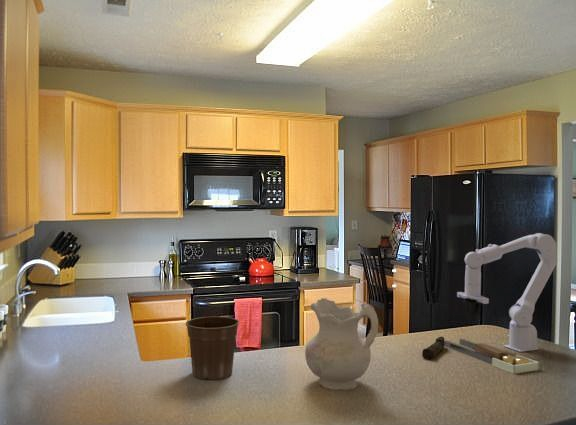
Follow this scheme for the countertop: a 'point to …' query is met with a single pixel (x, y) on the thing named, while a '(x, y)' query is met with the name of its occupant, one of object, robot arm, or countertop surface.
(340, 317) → the ceramic pitcher
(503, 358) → the chip
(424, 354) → the brown wooden log
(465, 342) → the slot rails
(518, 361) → the chip
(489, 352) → the long wooden beam
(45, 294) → the countertop surface
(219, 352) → the plant pot
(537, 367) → the tray
